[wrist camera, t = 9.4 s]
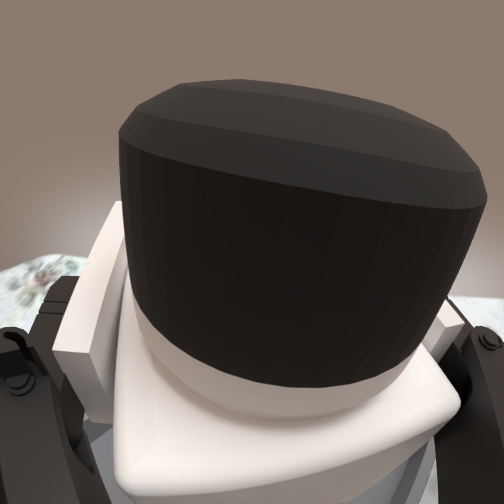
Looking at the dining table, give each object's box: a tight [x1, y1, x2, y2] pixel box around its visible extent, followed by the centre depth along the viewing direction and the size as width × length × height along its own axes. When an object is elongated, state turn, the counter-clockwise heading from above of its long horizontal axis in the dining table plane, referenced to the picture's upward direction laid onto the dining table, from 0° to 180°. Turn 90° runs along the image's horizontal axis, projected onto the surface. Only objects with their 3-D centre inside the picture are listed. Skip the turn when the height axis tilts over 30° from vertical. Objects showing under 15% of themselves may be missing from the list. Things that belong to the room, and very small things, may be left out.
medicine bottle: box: [113, 79, 487, 504], centre depth 8 cm, size 7×7×12 cm
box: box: [83, 413, 436, 504], centre depth 16 cm, size 22×22×4 cm
